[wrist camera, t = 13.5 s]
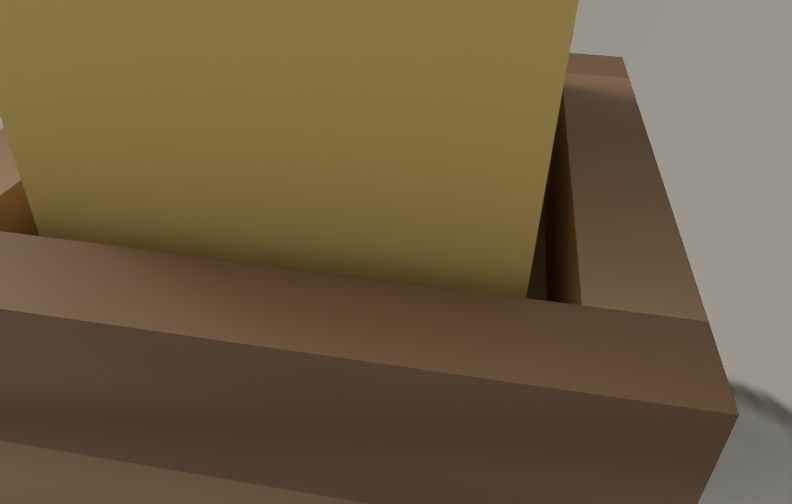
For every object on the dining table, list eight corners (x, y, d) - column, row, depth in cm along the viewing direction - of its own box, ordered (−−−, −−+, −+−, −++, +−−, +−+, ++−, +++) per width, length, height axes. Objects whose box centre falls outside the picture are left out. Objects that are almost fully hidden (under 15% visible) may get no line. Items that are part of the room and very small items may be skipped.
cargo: (507, 402, 5) (586, -43, 3) (73, 339, 5) (-66, -85, 4) (518, 181, 8) (562, -119, 6) (233, 152, 8) (197, -135, 6)
